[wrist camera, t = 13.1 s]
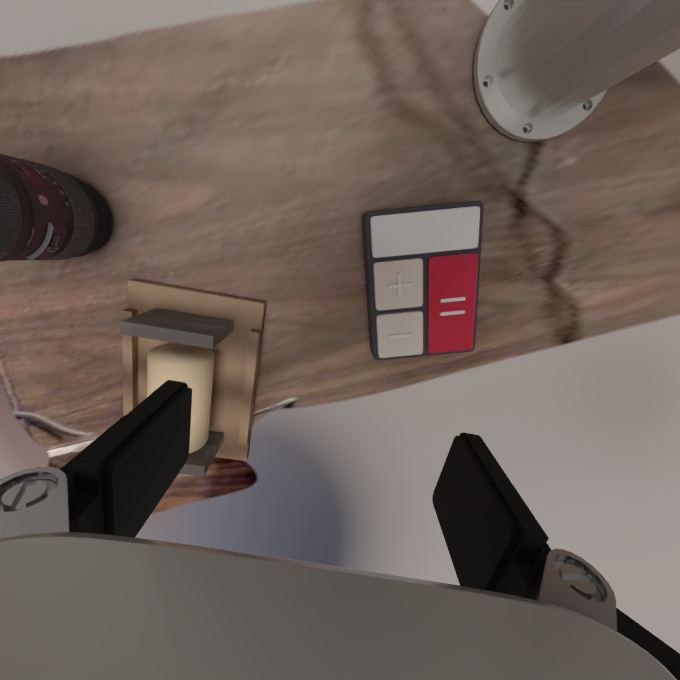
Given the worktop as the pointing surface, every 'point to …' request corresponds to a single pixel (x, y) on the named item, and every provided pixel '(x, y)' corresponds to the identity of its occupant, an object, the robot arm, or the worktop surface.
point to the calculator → (422, 278)
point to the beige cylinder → (186, 381)
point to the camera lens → (48, 213)
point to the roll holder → (203, 331)
